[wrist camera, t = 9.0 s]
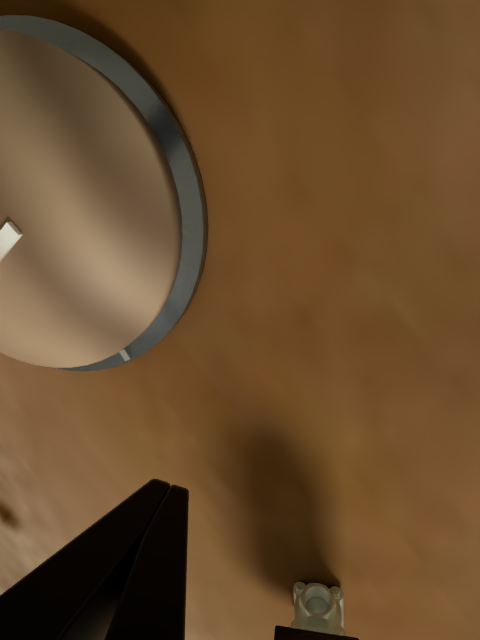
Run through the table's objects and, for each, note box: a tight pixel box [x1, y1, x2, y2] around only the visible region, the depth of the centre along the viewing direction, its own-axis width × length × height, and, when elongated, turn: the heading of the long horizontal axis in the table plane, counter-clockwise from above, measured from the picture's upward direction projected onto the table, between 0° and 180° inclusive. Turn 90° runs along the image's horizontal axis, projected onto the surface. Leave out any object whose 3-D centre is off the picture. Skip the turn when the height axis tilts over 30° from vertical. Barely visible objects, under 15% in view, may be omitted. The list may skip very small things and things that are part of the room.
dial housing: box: [0, 15, 208, 371], centre depth 20 cm, size 18×18×1 cm
